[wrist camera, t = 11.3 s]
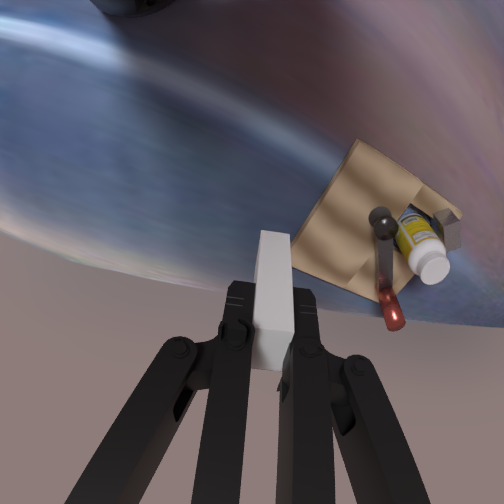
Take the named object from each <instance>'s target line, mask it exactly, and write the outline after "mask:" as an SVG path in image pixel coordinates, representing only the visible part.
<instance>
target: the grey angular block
mask: <svg viewBox="0 0 504 504" xmlns="http://www.w3.org/2000/svg"><path fill="white" fill-rule="evenodd" d="M430 221H431V228H432V229H433V231H434V232H435V233H436V235H437V236H438V237H439V239H440V240H441V242H442V243H443V245H444V247H445V249H446V253H447V252H449V251H452V250H455V249H457V248H460V247H461V230H460V220H459V219H458V218H457V217H456V215H455V214H454V213H453V212H452V211H451V210H450V209H449V208H446V209H443V210H440V211H438V212H435V213H433V218H432V217H430Z"/></svg>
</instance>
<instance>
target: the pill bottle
mask: <svg viewBox="0 0 504 504" xmlns="http://www.w3.org/2000/svg"><path fill="white" fill-rule="evenodd" d="M397 223H398V227H399V229H398V232H397V234H396V235H395V237H394V239H395V241H396V243H397V245H398V247H399V249H400V250H401V252H402V254H403V256H404V258H405V260H406V262H407V264H408V266H409V268H410V269H411V270H412V272H413V273H415V274H416V275H419V276H420V278H421V280H422V281H423V282H424V283H425V284H428V285H432V284H436V283H438V282H440V281H441V280H443V279H444V278H445V277H446V275H447V274H448V272H449V269H450V264H449V261H448V259H447V258H446V249H445V247H444V245H443V243H442V242H441V240H440V239H439V237H438V236H437V235H436V233H435V232H434V231H433V229H432V228H431V227H430V225H429V224H428V223H427V221H426V220H425V219H424V218H423V217H422V216H421V215H419V214H416V213H410V214H407V215H405V216H403V217H401V218H400V219H399V220H398V221H397Z"/></svg>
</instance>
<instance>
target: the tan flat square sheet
mask: <svg viewBox="0 0 504 504" xmlns="http://www.w3.org/2000/svg"><path fill="white" fill-rule="evenodd" d="M410 203H411V204H413V205H414V206H416V207H417V208H419V209H420V210H422V211H423V212H425V213H426V214H428V215H429V216H430V217H432V218H433V213H435V212H438V211H440V210H443V209H446V208H449V209H450V210H451V211H452V212H453V213H454V214H455V215H456V217H457V218H458V219H459V220H460V218H461V217H462V216H463V214H462V213H461V212H460V210H459V209H457V208H456V207H455V206H454V205H452V204H451V203H450V202H449V201H447V200H446V199H445V198H444V197H442V196H441V195H440V194H438V193H437V192H436V191H435V190H433V189H432V188H431V187H429V186H428V185H427V184H425V183H424V182H422V181H421V180H420V179H418V178H417V177H416V176H414V175H413V174H411V173H410V172H409V171H407V170H406V169H404V168H403V167H401V166H400V165H398V164H397V163H395V162H394V161H392V160H391V159H389V158H388V157H386V156H385V155H383V154H382V153H380V152H379V151H377V150H376V149H374V148H372V147H371V146H369V145H368V144H366V143H364V142H363V141H361V140H359V139H358V138H357V139H356V140H355V142H354V144H353V145H352V147H351V149H350V150H349V152H348V153H347V155H346V157H345V158H344V160H343V162H342V163H341V165H340V166H339V168H338V170H337V171H336V173H335V174H334V176H333V178H332V179H331V181H330V182H329V184H328V186H327V187H326V189H325V190H324V192H323V194H322V195H321V197H320V198H319V200H318V201H317V203H316V205H315V206H314V208H313V209H312V211H311V212H310V214H309V216H308V217H307V219H306V220H305V222H304V223H303V225H302V227H301V228H300V230H299V231H298V233H297V234H296V236H295V237H294V239H293V240H292V242H291V244H290V250H291V267H294V268H296V269H298V270H301V271H303V272H306V273H308V274H311V275H313V276H315V277H318V278H320V279H323V280H325V281H327V282H330V283H332V284H335V285H337V286H339V287H342V288H344V289H347V290H349V291H352V292H354V293H356V294H359V295H361V296H364V297H366V298H368V299H371V300H373V301H376V302H378V303H379V300H378V297H377V294H376V291H375V284H376V258H375V236H374V231H373V226H374V221H376V220H377V219H378V218H380V217H382V216H386V215H388V216H392V217H393V218H394V219H395V220H396V222H397V221H398V219H399V218H400V217H401V215H402V214H403V212H404V211H405V210H406V208H407V207H408V206H409V204H410ZM414 275H415V273H413V272H412V270H411V269H410V268H409V266H408V264H407V262H406V260H405V258H404V256H403V254H402V252H401V250H400V249H398V248H396V247H395V246H393V289H394V292H395V294H397V293H398V292H399V291H400V290H401V289H402V288H403V287H404V286H405V285H406V284H407V283H408V281H409V280H410V279H411V278H412V277H413V276H414Z"/></svg>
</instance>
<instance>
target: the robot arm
mask: <svg viewBox="0 0 504 504" xmlns="http://www.w3.org/2000/svg"><path fill="white" fill-rule="evenodd" d="M90 1H91V2H92V3H93V4H94V5H95V6H96V7H97V8H98V9H100V10H101V11H103V12H105V13H108V14H111V15H115V16H121V17H140V16H145V15H148V14H151V13H154V12H156V11H159V10H161V9H163V8H164V7H166V6H168V5H169V4H171V3H172V2H173V1H175V0H90ZM282 366H283V368H282ZM251 368H252V369H262V370H271V371H281V369H283V370H282V372H283V373H282V377H281V380H280V383H279V385H278V388H277V391H280V403H279V405H280V406H279V437H278V464H277V485H276V504H335V475H334V474H335V471H334V449H333V431H332V427H333V430H334V433H335V436H336V439H337V442H338V445H339V448H340V451H341V455H342V458H343V461H344V464H345V467H346V470H347V473H348V476H349V479H350V482H351V486H352V489H353V492H354V495H355V498H356V502H357V504H431V503H430V500H429V498H428V495H427V492H426V489H425V487H424V484H423V481H422V479H421V476H420V474H419V471H418V468H417V466H416V463H415V461H414V458H413V455H412V453H411V451H410V448H409V446H408V443H407V441H406V439H405V436H404V433H403V431H402V429H401V427H400V424H399V422H398V419H397V417H396V415H395V412H394V410H393V408H392V405H391V403H390V401H389V399H388V396H387V394H386V392H385V390H384V388H383V385H382V383H381V381H380V379H379V377H378V374H377V372H376V370H375V368H374V366H373V364H372V363H371V361H370V360H369V359H367V358H366V357H364V356H361V355H352V356H349V357H348V358H347V359H343V358H341V357H338V356H335V355H333V354H331V353H329V352H328V351H326V349H325V348H324V346H323V345H322V344H321V341H320V334H319V325H318V317H317V308H316V299H315V296H314V295H313V293H312V291H311V290H310V289H304V288H295V287H293V286H292V267H291V250H290V234H286V233H279V232H272V231H264V230H261V234H260V241H259V247H258V253H257V260H256V266H255V274H254V283H250V282H243V281H235V280H234V281H233V282H232V284H231V285H230V286H229V287H228V292H227V298H226V303H225V309H224V314H223V319H222V321H221V322H220V325H219V327H218V335H217V336H216V337H215V338H214V339H212V340H209V341H206V342H200V343H194V342H193V341H192V340H190V339H188V338H186V337H182V336H179V337H173V338H171V339H168V340H167V341H166V342H165V343H164V344H163V346H162V348H161V349H160V351H159V352H158V354H157V355H156V357H155V358H154V360H153V361H152V363H151V364H150V366H149V368H148V369H147V371H146V373H145V374H144V375H143V377H142V378H141V380H140V382H139V383H138V385H137V386H136V388H135V390H134V391H133V393H132V394H131V396H130V397H129V399H128V400H127V402H126V404H125V405H124V407H123V408H122V410H121V411H120V413H119V415H118V416H117V418H116V419H115V421H114V423H113V424H112V426H111V428H110V429H109V431H108V432H107V434H106V436H105V437H104V439H103V440H102V442H101V444H100V445H99V447H98V448H97V450H96V452H95V453H94V455H93V457H92V458H91V460H90V462H89V463H88V465H87V466H86V468H85V470H84V471H83V473H82V475H81V477H80V478H79V480H78V481H77V483H76V485H75V487H74V488H73V490H72V491H71V493H70V495H69V497H68V498H67V500H66V502H65V503H64V504H139V502H140V500H141V498H142V496H143V494H144V492H145V490H146V489H147V487H148V485H149V483H150V481H151V479H152V477H153V476H154V474H155V471H156V470H157V468H158V466H159V464H160V462H161V460H162V458H163V456H164V454H165V452H166V450H167V449H168V447H169V445H170V443H171V441H172V439H173V437H174V435H175V433H176V431H177V429H178V427H179V425H180V423H181V421H182V419H183V417H184V416H185V414H186V412H187V410H188V408H189V406H190V404H191V402H192V400H193V398H194V396H195V394H196V392H197V390H202V389H209V393H208V399H207V405H206V411H205V418H204V424H203V430H202V436H201V442H200V449H199V455H198V461H197V468H196V474H195V480H194V487H193V494H192V500H191V504H239V498H240V487H241V476H242V465H243V452H244V442H245V431H246V419H247V407H248V394H249V383H250V371H251Z"/></svg>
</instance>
